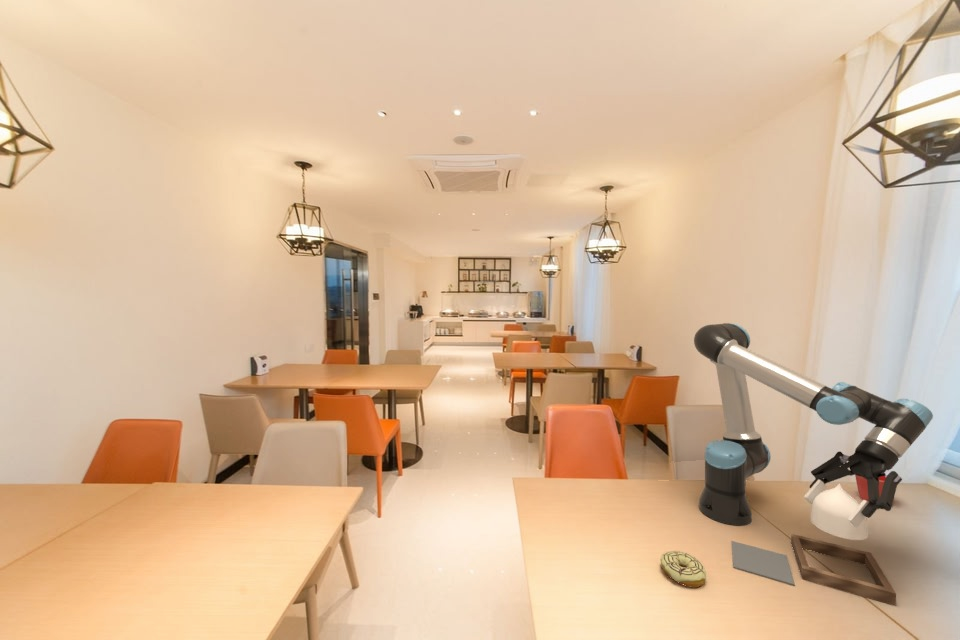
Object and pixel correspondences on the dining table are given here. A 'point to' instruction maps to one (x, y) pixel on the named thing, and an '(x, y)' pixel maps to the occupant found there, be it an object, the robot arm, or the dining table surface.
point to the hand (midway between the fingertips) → (828, 511)
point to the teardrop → (837, 514)
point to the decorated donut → (683, 568)
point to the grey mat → (762, 562)
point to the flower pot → (864, 487)
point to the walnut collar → (861, 588)
